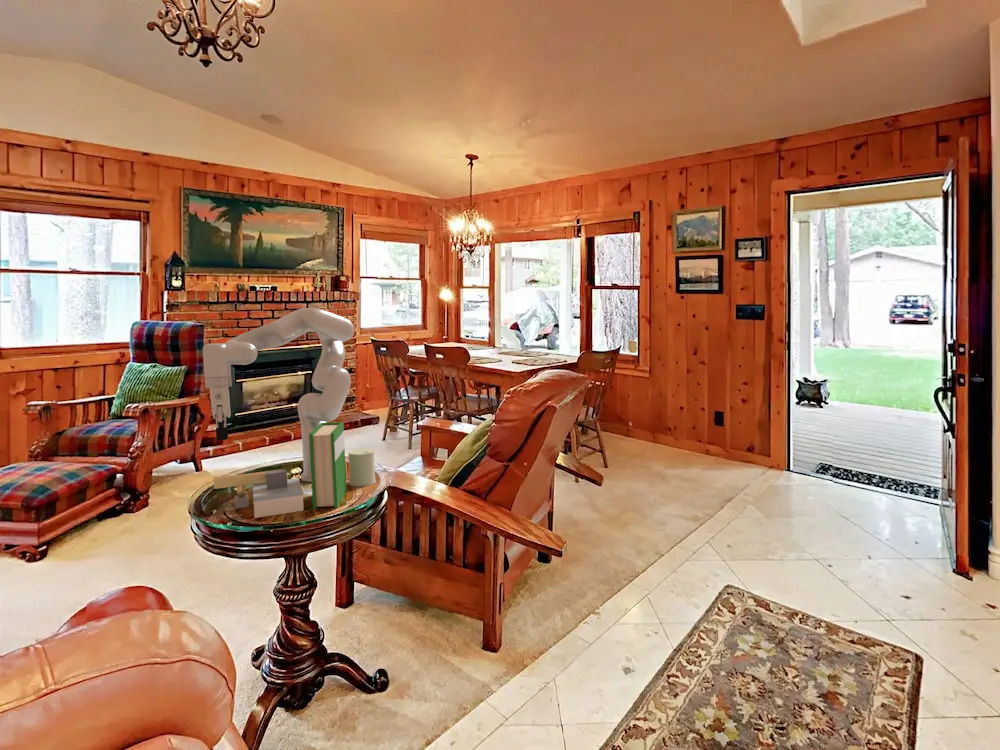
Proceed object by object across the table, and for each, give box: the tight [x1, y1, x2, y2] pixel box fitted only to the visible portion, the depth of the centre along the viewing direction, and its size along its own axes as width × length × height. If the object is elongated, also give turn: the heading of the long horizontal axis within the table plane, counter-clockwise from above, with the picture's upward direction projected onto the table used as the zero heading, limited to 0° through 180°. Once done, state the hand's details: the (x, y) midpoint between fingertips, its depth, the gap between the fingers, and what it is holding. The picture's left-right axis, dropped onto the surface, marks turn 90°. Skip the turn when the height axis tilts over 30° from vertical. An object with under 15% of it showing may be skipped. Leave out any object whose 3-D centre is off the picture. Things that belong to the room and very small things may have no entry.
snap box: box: [233, 493, 305, 519], centre depth 177 cm, size 20×16×5 cm
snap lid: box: [252, 469, 304, 503], centre depth 177 cm, size 14×14×6 cm
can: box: [347, 447, 377, 487], centre depth 202 cm, size 9×9×12 cm
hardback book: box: [309, 421, 347, 511], centre depth 183 cm, size 18×7×24 cm, turn 6°
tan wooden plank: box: [213, 468, 283, 497], centre depth 180 cm, size 20×2×7 cm, turn 114°
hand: (222, 438), depth 181 cm, fingers open, 3 cm apart
